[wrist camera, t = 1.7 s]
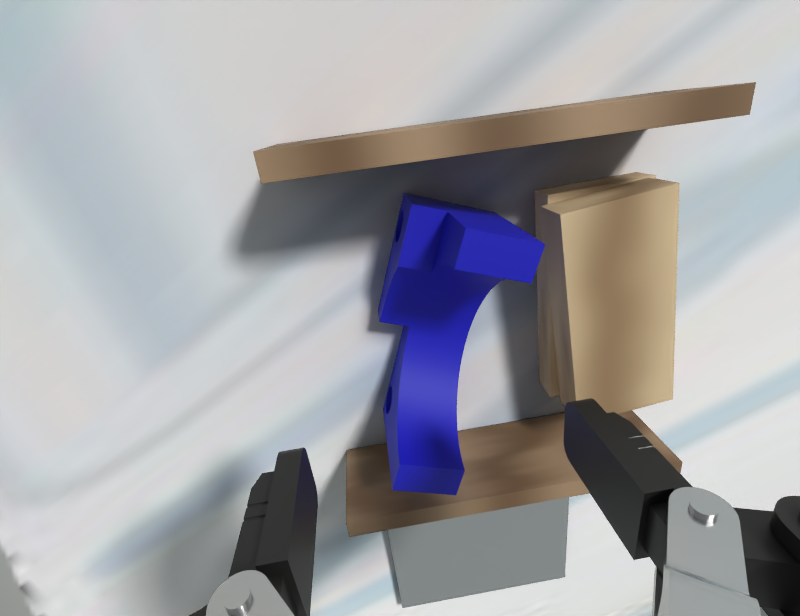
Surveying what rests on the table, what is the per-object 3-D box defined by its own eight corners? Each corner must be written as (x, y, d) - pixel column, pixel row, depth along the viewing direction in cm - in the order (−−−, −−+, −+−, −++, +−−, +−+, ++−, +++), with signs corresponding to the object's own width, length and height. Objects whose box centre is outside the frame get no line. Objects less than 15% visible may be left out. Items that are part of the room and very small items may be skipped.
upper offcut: (648, 177, 19) (679, 182, 17) (647, 377, 24) (672, 398, 22) (540, 206, 19) (560, 214, 17) (560, 401, 24) (578, 424, 22)
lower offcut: (628, 171, 21) (655, 175, 19) (617, 361, 25) (638, 379, 24) (530, 188, 21) (547, 195, 19) (536, 377, 25) (550, 397, 23)
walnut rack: (658, 91, 19) (755, 82, 14) (622, 415, 26) (679, 476, 22) (277, 144, 18) (253, 151, 14) (349, 463, 26) (349, 536, 21)
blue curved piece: (403, 192, 20) (423, 219, 14) (493, 211, 21) (545, 244, 15) (357, 404, 24) (359, 487, 19) (432, 413, 25) (456, 495, 20)
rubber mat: (566, 456, 27) (570, 463, 27) (560, 569, 32) (564, 577, 31) (380, 489, 27) (380, 496, 26) (401, 599, 31) (402, 608, 31)
